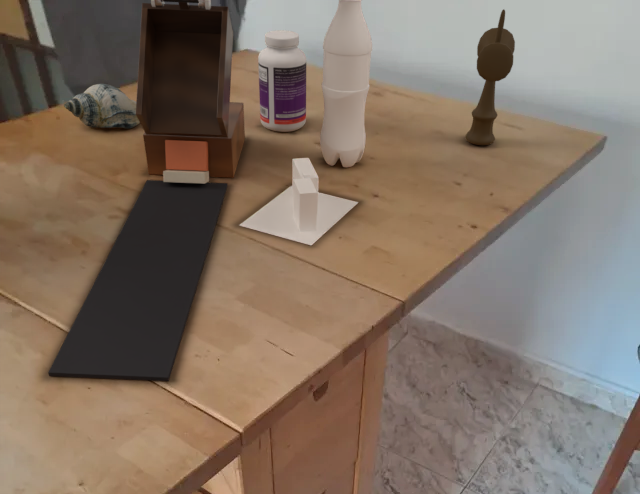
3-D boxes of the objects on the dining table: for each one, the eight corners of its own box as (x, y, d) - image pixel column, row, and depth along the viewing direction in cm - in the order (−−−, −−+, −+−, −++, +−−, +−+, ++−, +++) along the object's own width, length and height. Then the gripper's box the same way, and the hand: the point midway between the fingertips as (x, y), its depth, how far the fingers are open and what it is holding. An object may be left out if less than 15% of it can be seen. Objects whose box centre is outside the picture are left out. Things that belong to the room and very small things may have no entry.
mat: (168, 381, 69) (168, 377, 68) (49, 376, 69) (47, 372, 68) (227, 186, 102) (227, 183, 102) (147, 183, 102) (146, 179, 102)
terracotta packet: (208, 171, 102) (206, 170, 101) (168, 169, 102) (166, 169, 101) (208, 142, 101) (206, 141, 99) (167, 140, 101) (164, 139, 99)
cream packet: (208, 170, 103) (209, 181, 103) (169, 169, 103) (169, 179, 103) (204, 172, 99) (204, 183, 100) (162, 171, 99) (163, 182, 100)
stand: (233, 177, 104) (231, 138, 100) (148, 174, 104) (142, 134, 100) (245, 139, 116) (243, 102, 112) (168, 136, 116) (164, 99, 112)
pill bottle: (313, 122, 123) (315, 32, 113) (293, 137, 117) (293, 43, 107) (273, 114, 125) (271, 25, 115) (251, 128, 120) (248, 36, 110)
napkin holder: (290, 185, 103) (290, 146, 99) (359, 201, 100) (361, 162, 96) (238, 225, 93) (235, 184, 89) (312, 245, 90) (313, 204, 86)
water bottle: (317, 152, 113) (323, -28, 96) (361, 152, 113) (373, -26, 96) (321, 170, 107) (326, -17, 90) (366, 170, 108) (380, -16, 91)
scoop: (227, 137, 100) (218, 105, 91) (146, 134, 100) (129, 102, 91) (233, 29, 101) (225, -13, 92) (152, 26, 101) (136, -17, 92)
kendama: (497, 134, 121) (523, 4, 108) (496, 154, 114) (524, 18, 101) (463, 130, 122) (485, 1, 108) (460, 150, 115) (483, 14, 102)
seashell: (143, 138, 119) (71, 139, 117) (141, 105, 122) (71, 106, 120) (138, 108, 113) (62, 109, 111) (137, 75, 116) (63, 75, 114)
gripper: (78, -124, 82) (99, 9, 91) (249, -117, 82) (253, 16, 91) (93, -128, 86) (111, -1, 96) (255, -121, 86) (258, 6, 96)
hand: (181, 7), depth 93 cm, fingers closed on scoop, 5 cm apart
